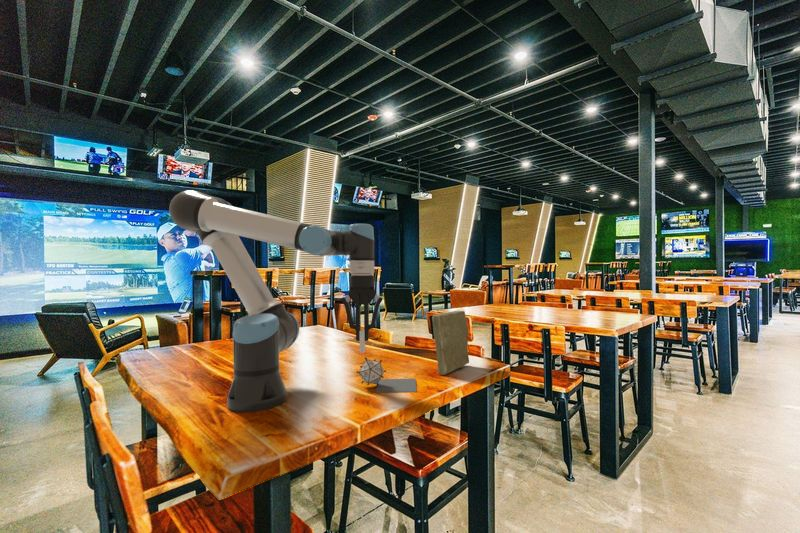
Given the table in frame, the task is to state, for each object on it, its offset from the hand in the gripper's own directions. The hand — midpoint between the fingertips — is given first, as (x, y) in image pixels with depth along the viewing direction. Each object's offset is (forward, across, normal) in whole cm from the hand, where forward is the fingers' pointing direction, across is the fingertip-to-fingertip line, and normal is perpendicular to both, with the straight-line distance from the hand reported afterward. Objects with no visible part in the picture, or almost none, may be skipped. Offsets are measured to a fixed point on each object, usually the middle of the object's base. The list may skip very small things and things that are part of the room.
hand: (362, 351), depth 112 cm
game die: (+10, 0, 0) cm, 10 cm away
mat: (+11, +10, 0) cm, 15 cm away
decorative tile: (+11, +30, +18) cm, 37 cm away
